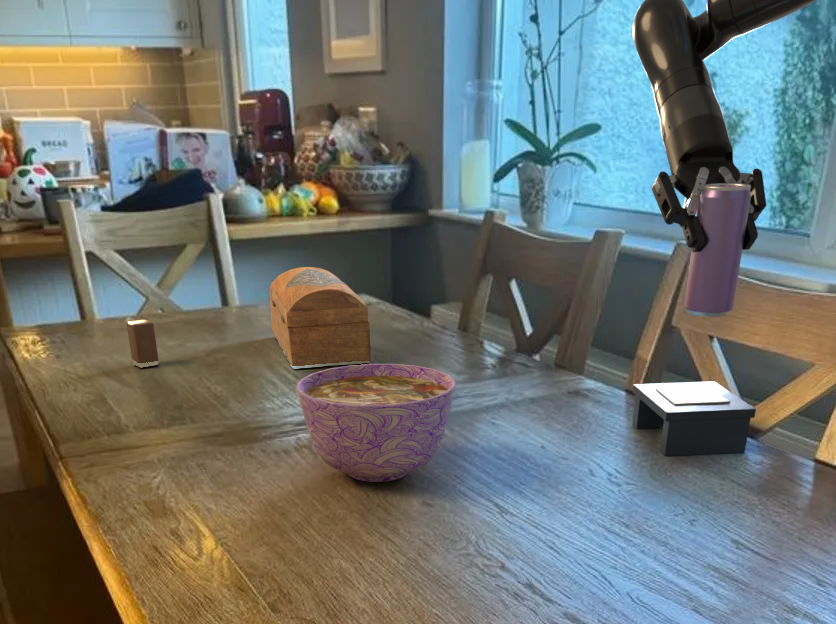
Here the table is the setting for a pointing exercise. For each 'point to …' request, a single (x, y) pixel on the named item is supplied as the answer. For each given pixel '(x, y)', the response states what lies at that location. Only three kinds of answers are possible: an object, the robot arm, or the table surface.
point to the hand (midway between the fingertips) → (724, 246)
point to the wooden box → (318, 318)
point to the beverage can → (718, 249)
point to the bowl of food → (376, 417)
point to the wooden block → (142, 341)
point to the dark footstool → (693, 417)
